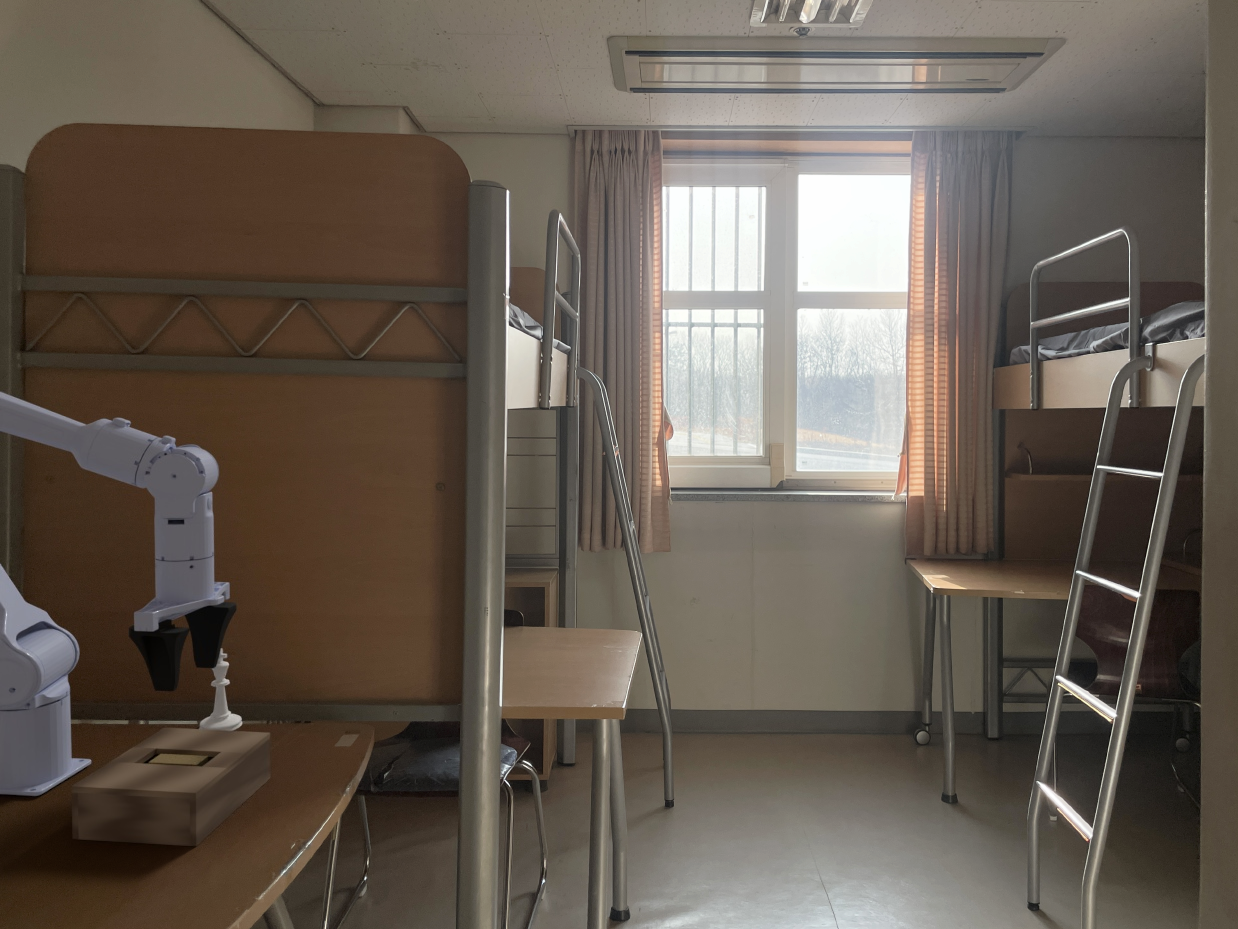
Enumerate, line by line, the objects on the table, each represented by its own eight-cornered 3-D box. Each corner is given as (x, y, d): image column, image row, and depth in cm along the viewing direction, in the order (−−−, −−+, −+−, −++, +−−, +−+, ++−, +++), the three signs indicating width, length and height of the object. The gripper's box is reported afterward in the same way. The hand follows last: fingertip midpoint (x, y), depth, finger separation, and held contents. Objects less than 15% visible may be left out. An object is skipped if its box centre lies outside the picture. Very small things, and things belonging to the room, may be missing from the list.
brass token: (149, 810, 82) (148, 762, 82) (161, 800, 84) (160, 753, 84) (197, 813, 82) (197, 764, 81) (208, 803, 84) (208, 756, 83)
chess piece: (224, 736, 100) (224, 656, 100) (189, 732, 101) (188, 653, 101) (250, 721, 105) (250, 645, 105) (216, 717, 106) (216, 642, 105)
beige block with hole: (72, 839, 76) (71, 786, 76) (165, 772, 90) (164, 727, 90) (196, 846, 76) (195, 793, 75) (270, 778, 90) (270, 732, 89)
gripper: (180, 571, 82) (182, 703, 83) (254, 546, 96) (255, 659, 97) (113, 568, 82) (116, 700, 83) (196, 544, 97) (198, 657, 98)
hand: (186, 678), depth 90 cm, fingers open, 7 cm apart
